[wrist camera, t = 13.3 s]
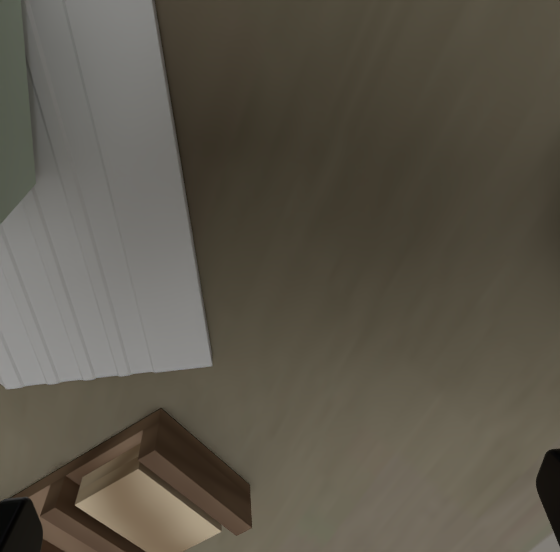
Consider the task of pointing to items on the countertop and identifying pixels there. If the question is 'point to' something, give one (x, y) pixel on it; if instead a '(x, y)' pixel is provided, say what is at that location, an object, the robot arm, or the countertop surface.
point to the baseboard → (99, 207)
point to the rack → (159, 459)
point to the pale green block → (14, 112)
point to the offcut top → (146, 510)
